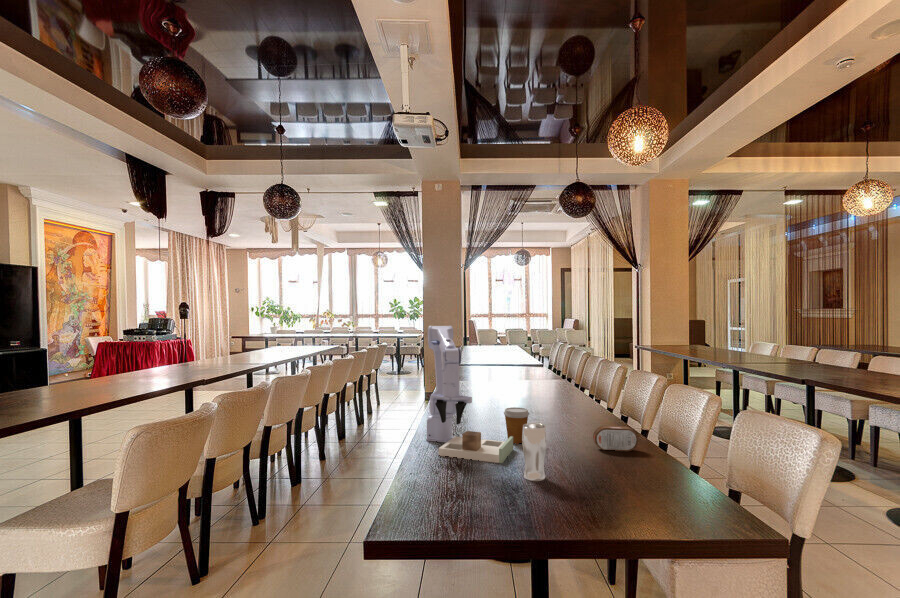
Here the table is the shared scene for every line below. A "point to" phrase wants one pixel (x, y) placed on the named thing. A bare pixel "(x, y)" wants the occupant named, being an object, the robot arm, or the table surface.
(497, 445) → the trap board
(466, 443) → the walnut block
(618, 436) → the tin
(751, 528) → the table surface
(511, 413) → the disposable coffee cup
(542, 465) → the beer glass
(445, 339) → the robot arm
